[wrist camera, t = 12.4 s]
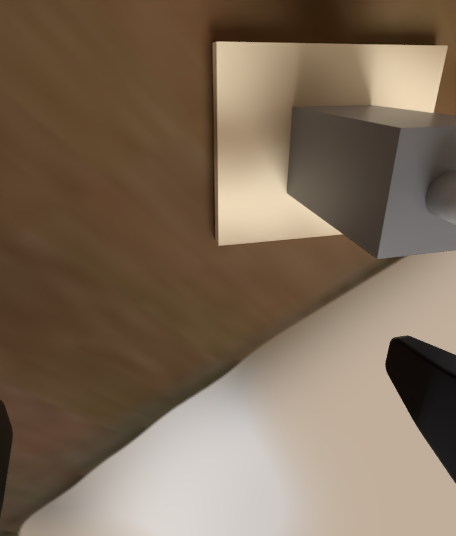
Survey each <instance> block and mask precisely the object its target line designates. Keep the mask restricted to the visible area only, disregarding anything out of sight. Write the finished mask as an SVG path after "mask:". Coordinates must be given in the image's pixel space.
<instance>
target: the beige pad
mask: <svg viewBox="0 0 456 536" xmlns="http://www.w3.org/2000/svg"><path fill="white" fill-rule="evenodd" d="M447 47H448V46H433V45H378V44H323V43H268V42H214V43H213V110H214V180H215V240H216V242H217V244H218V245H219V246H220V245H231V244H242V243H253V242H263V241H274V240H285V239H296V238H306V237H317V236H328V235H339V234H342V233H341V232H339V231H338V230H337V229H335V228H334V227H332V226H331V225H330V224H328V223H327V222H326V221H324V220H323V219H321V218H320V217H319V216H317V215H316V214H315V213H313V212H312V211H310V210H309V209H308V208H306V207H305V206H304V205H302V204H301V203H299V202H298V201H297V200H295V199H294V198H293V197H291V196H290V195H288V194H287V181H288V165H289V150H290V134H291V119H292V107H301V106H348V105H375V106H383V107H391V108H399V109H407V110H415V111H422V112H430V113H433V112H434V108H435V103H436V98H437V94H438V89H439V85H440V80H441V75H442V71H443V66H444V61H445V57H446V52H447Z"/></svg>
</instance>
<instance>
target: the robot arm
mask: <svg viewBox="0 0 456 536" xmlns="http://www.w3.org/2000/svg"><path fill="white" fill-rule="evenodd" d="M385 365H386V371H387V373H388V375H389V377H390V379H391V381H392V383H393V384H394V386H395V388H396V390H397V392H398V394H399V395H400V397H401V399H402V401H403V403H404V404H405V406H406V408H407V410H408V412H409V413H410V415H411V417H412V419H413V420H414V422H415V424H416V425H417V427H418V429H419V430H420V432H421V433H422V435H423V436H424V438H425V439H426V441H427V442H428V444H429V445H430V447H431V448H432V450H433V451H434V453H435V454H436V455H437V457H438V458H439V460H440V461H441V463H442V464H443V466H444V467H445V469H446V470H447V472H448V473H449V475H450V476H451V477H452V479H453V480H454V482H455V483H456V355H454V354H452V353H449V352H447V351H445V350H442V349H439V348H437V347H435V346H433V345H430V344H428V343H425V342H423V341H420V340H418V339H415V338H413V337H411V336H400V337H395V338H393V339H392V340H391V341H390V345H389V349H388V354H387V358H386V363H385ZM12 439H13V431H12V426H11V423H10V420H9V417H8V414H7V411H6V408H5V405H4V403H3V402H2V401H1V400H0V518H1V513H2V507H3V501H4V494H5V488H6V481H7V474H8V467H9V460H10V453H11V447H12Z"/></svg>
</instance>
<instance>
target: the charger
mask: <svg viewBox="0 0 456 536" xmlns="http://www.w3.org/2000/svg"><path fill="white" fill-rule="evenodd" d="M287 194H288V195H290V196H291V197H293V198H294V199H295V200H297V201H298V202H299V203H301V204H302V205H304V206H305V207H306V208H308V209H309V210H310V211H312V212H313V213H315V214H316V215H317V216H319V217H320V218H321V219H323V220H324V221H326V222H327V223H328V224H330V225H331V226H332V227H334V228H335V229H337V230H338V231H339V232H341V233H342V234H343V235H345V236H346V237H348V238H349V239H350V240H352V241H353V242H354V243H356V244H357V245H359V246H360V247H361V248H363V249H364V250H365V251H367V252H368V253H370V254H371V255H372V256H374V257H375V258H376V259H381V258H390V257H399V256H408V255H417V254H426V253H435V252H444V251H453V250H456V116H454V115H446V114H438V113H430V112H422V111H415V110H407V109H399V108H391V107H383V106H375V105H348V106H301V107H292V119H291V134H290V150H289V165H288V181H287Z"/></svg>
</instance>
